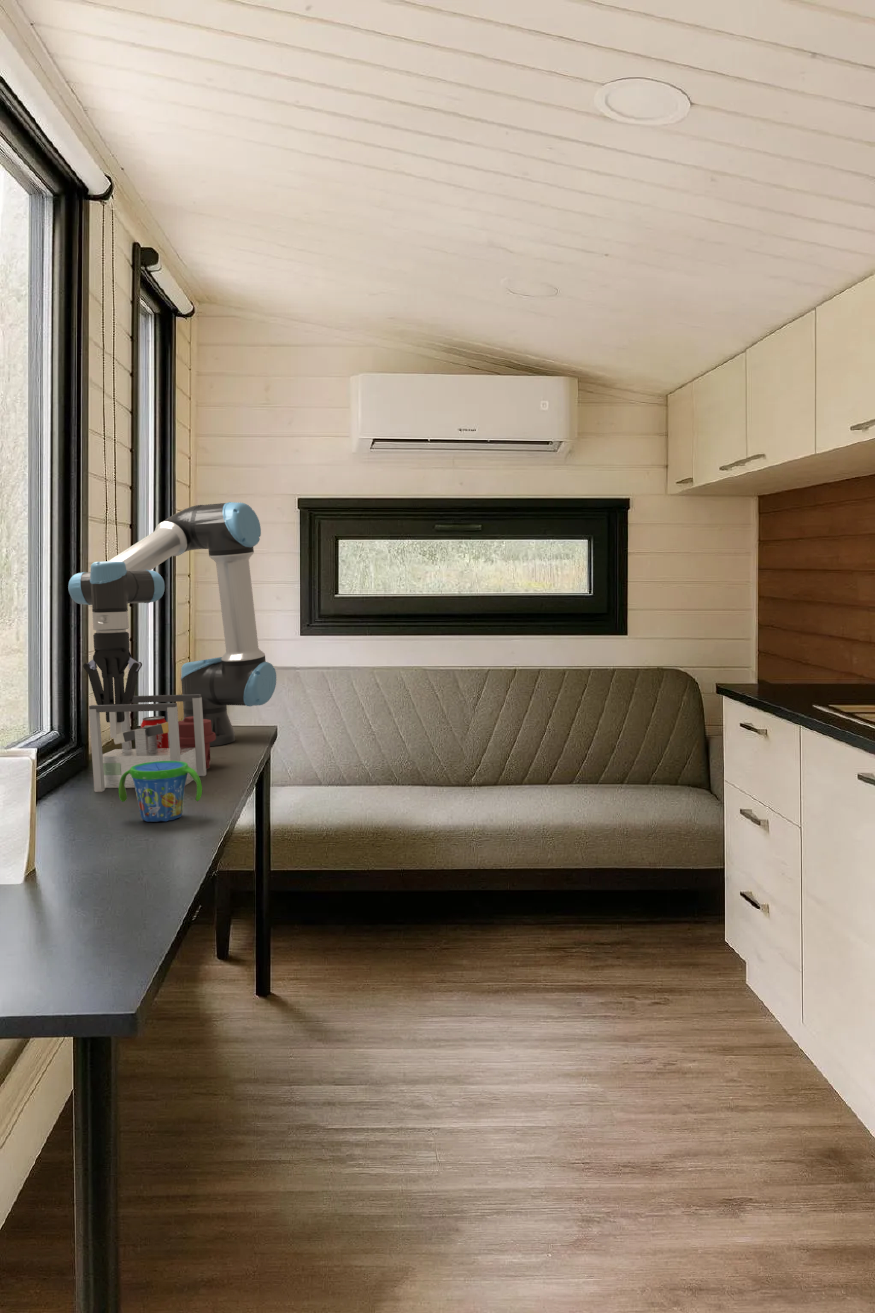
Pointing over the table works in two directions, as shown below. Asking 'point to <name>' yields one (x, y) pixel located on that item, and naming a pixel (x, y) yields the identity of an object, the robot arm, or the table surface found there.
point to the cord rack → (125, 726)
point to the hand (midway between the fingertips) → (116, 736)
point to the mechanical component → (189, 736)
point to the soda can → (161, 738)
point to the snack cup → (160, 788)
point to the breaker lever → (150, 729)
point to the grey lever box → (140, 759)
